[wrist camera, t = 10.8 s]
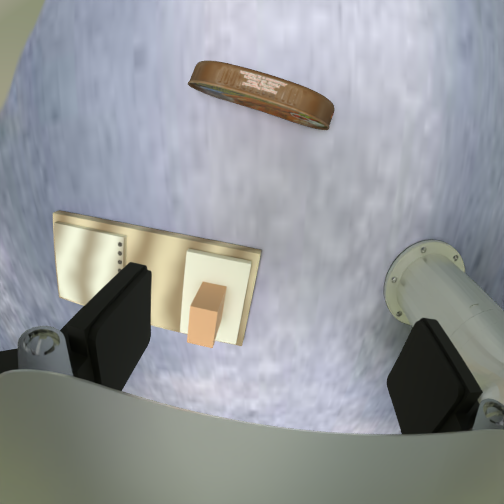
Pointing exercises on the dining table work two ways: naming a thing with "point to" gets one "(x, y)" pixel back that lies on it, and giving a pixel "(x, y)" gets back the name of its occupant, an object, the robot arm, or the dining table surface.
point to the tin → (263, 93)
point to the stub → (213, 297)
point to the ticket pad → (138, 251)
